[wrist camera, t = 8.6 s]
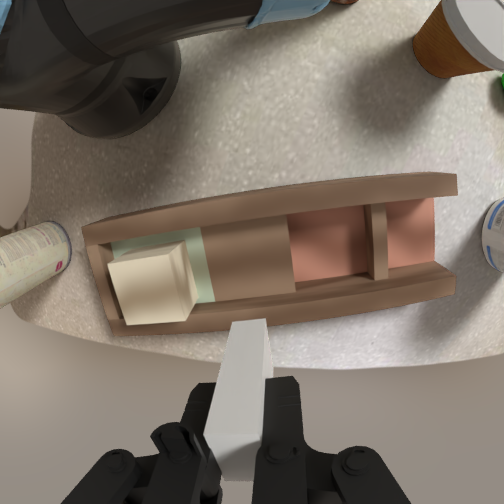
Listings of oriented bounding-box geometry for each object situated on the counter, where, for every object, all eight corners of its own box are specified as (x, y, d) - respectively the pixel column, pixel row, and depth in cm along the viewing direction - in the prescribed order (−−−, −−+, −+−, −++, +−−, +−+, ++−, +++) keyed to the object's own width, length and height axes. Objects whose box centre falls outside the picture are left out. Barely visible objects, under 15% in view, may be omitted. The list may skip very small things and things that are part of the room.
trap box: (107, 217, 31) (81, 227, 26) (429, 171, 28) (456, 174, 22) (133, 313, 35) (113, 335, 29) (432, 275, 31) (454, 294, 25)
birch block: (131, 249, 29) (107, 264, 24) (184, 239, 28) (167, 254, 24) (146, 302, 31) (126, 325, 26) (198, 297, 30) (185, 320, 25)
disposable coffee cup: (407, 86, 25) (468, 54, 14) (392, 13, 23) (435, -37, 11) (473, 97, 24) (538, 81, 13) (457, 28, 22) (510, -5, 10)
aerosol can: (31, 254, 34) (-76, 310, 14) (42, 211, 32) (-81, 254, 13) (64, 281, 34) (-43, 356, 15) (77, 238, 32) (-50, 301, 13)
